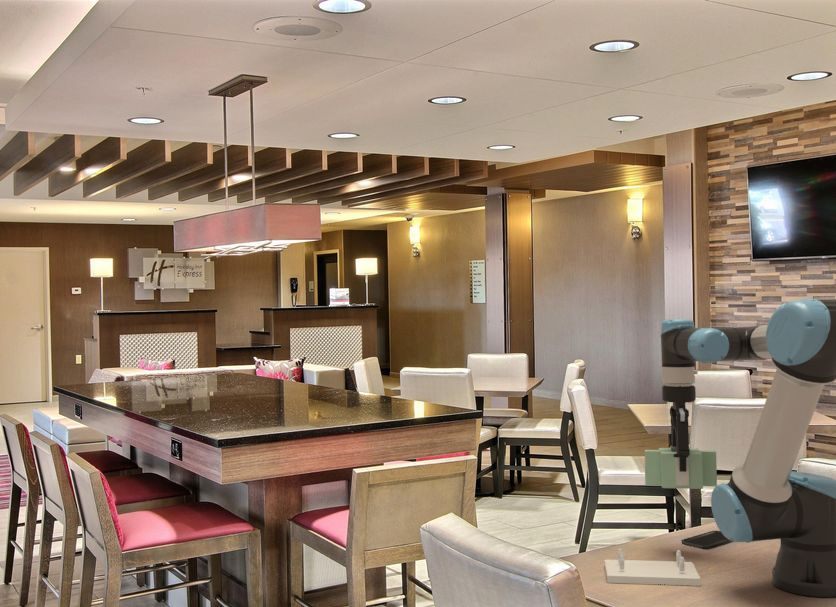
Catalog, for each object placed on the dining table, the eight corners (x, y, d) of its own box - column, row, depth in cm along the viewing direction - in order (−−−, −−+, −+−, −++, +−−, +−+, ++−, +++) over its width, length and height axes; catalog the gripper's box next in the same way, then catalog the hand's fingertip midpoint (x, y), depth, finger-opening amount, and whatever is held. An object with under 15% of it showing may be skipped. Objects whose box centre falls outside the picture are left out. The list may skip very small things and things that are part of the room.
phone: (679, 540, 217) (715, 530, 226) (679, 545, 217) (715, 534, 226) (707, 547, 211) (742, 535, 220) (707, 551, 211) (743, 540, 220)
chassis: (692, 568, 196) (691, 546, 196) (700, 585, 184) (700, 562, 184) (604, 566, 199) (604, 543, 199) (607, 582, 187) (607, 559, 187)
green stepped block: (713, 482, 210) (712, 445, 210) (718, 489, 202) (718, 450, 202) (644, 481, 213) (643, 444, 213) (646, 487, 205) (646, 449, 205)
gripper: (701, 388, 197) (703, 491, 197) (689, 380, 217) (691, 473, 217) (666, 388, 198) (668, 490, 198) (658, 381, 219) (660, 473, 219)
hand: (680, 481), depth 208 cm, fingers closed on green stepped block, 8 cm apart
